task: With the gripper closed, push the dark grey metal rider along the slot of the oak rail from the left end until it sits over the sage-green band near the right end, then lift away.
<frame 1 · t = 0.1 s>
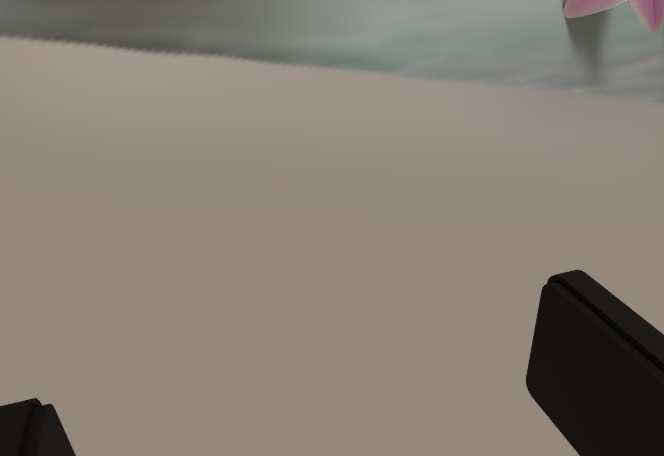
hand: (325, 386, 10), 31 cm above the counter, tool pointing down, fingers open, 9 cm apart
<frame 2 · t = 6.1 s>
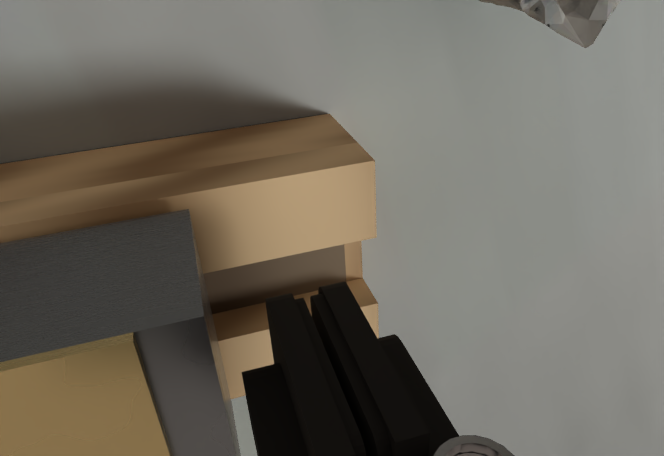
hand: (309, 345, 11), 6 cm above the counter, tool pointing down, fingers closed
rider: (108, 381, 11), point 5 cm above the counter, slide at -4.7 cm, touching gripper
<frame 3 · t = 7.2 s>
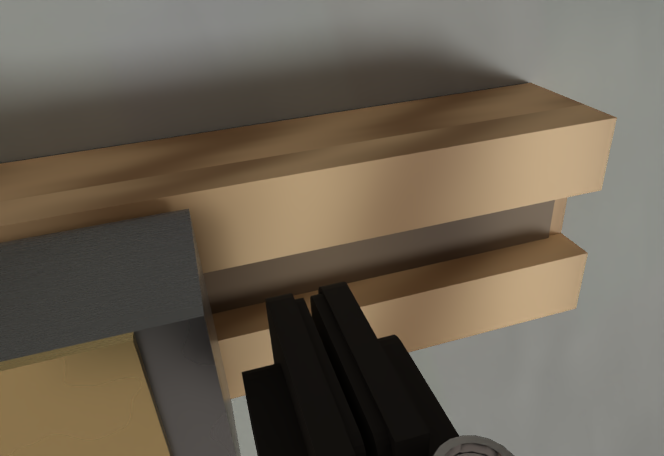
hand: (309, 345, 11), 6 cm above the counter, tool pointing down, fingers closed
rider: (108, 380, 11), point 5 cm above the counter, slide at 1.7 cm, touching gripper
rail: (182, 238, 15), on the counter
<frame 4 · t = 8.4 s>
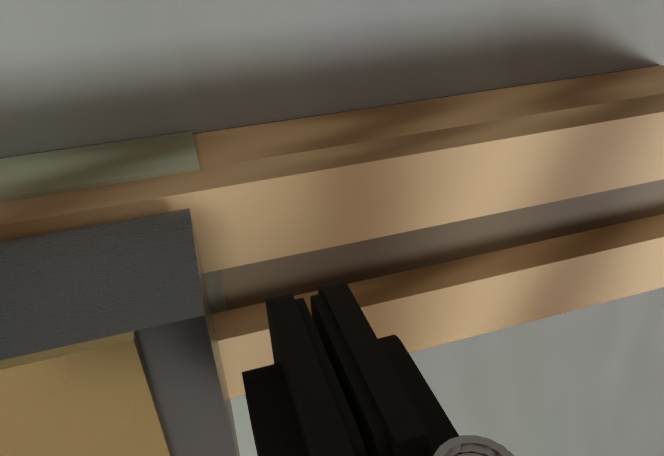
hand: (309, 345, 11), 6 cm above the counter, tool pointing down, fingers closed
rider: (107, 380, 11), point 5 cm above the counter, slide at 6.6 cm, touching gripper
rail: (342, 207, 17), on the counter
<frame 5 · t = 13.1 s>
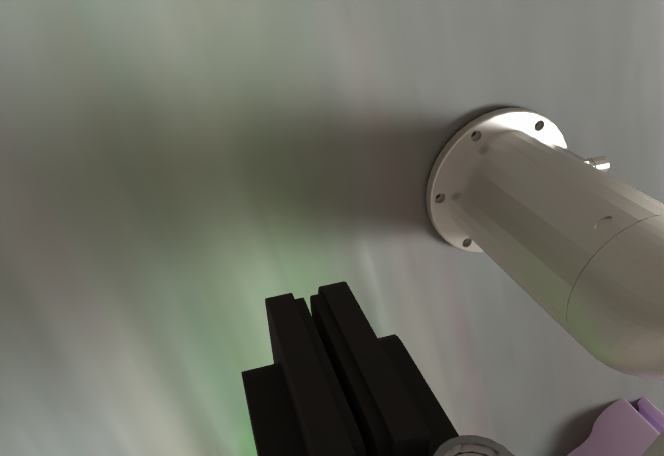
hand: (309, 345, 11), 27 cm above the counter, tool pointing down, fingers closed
clip: (596, 451, 72), on the counter
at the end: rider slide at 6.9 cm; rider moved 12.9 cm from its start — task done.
